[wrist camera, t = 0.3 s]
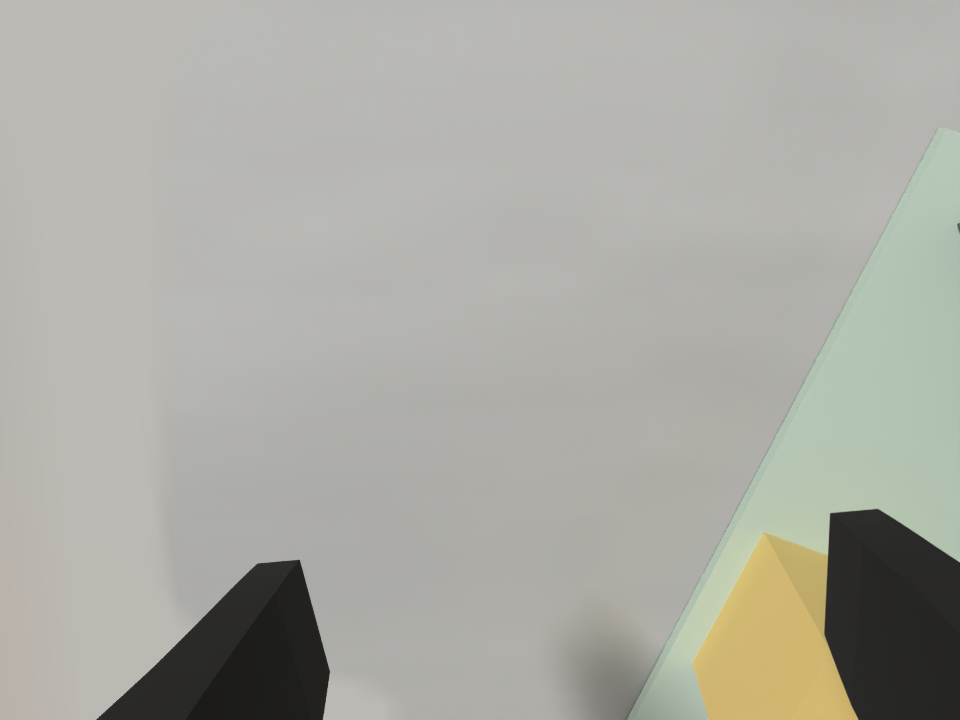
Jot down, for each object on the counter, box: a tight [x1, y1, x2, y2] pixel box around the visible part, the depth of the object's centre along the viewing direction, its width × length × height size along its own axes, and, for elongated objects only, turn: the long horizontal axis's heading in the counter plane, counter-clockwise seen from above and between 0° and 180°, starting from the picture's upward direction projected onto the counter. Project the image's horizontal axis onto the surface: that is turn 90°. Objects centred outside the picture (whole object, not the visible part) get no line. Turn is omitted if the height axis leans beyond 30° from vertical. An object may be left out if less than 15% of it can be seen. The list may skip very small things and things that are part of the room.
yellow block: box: [693, 532, 858, 720], centre depth 19 cm, size 4×4×5 cm
